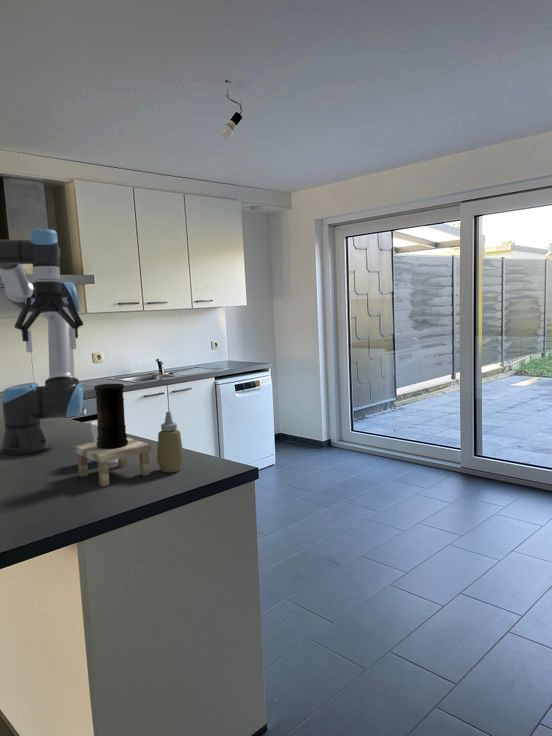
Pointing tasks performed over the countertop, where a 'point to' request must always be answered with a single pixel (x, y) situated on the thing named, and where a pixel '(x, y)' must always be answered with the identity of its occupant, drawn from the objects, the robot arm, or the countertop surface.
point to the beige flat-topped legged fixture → (112, 458)
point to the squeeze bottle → (169, 446)
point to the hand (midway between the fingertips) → (51, 350)
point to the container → (110, 416)
